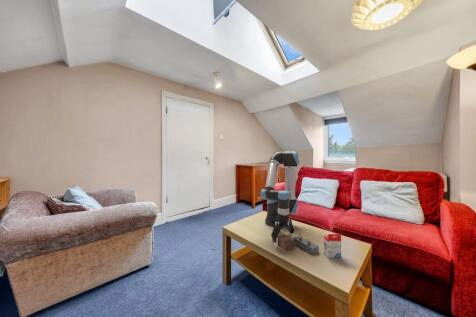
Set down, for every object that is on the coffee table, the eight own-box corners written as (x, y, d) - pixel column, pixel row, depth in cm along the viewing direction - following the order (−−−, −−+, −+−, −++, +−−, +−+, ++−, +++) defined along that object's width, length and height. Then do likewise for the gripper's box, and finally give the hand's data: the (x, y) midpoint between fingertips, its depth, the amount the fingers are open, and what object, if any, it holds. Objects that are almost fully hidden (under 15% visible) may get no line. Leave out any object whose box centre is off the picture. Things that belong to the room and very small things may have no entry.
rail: (293, 243, 126) (293, 232, 125) (299, 241, 129) (299, 231, 128) (312, 254, 112) (312, 243, 111) (318, 252, 115) (318, 240, 114)
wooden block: (272, 240, 129) (272, 232, 129) (279, 238, 133) (279, 230, 132) (287, 250, 116) (287, 241, 116) (294, 248, 120) (295, 239, 119)
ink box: (336, 253, 114) (337, 230, 113) (341, 257, 109) (341, 234, 108) (323, 253, 113) (323, 230, 113) (327, 258, 108) (328, 234, 108)
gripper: (273, 218, 114) (273, 251, 115) (300, 212, 126) (299, 242, 127) (265, 215, 121) (265, 246, 121) (292, 209, 133) (291, 237, 134)
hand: (283, 244), depth 124 cm, fingers open, 12 cm apart
